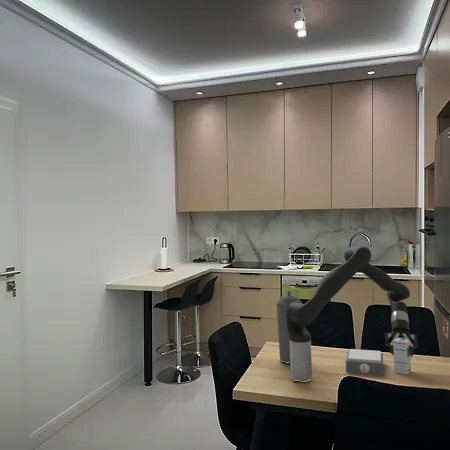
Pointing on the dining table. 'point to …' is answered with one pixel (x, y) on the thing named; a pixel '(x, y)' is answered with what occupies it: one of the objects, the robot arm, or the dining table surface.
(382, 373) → the kitchen scale
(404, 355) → the syrup box
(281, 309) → the canister
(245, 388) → the dining table surface
